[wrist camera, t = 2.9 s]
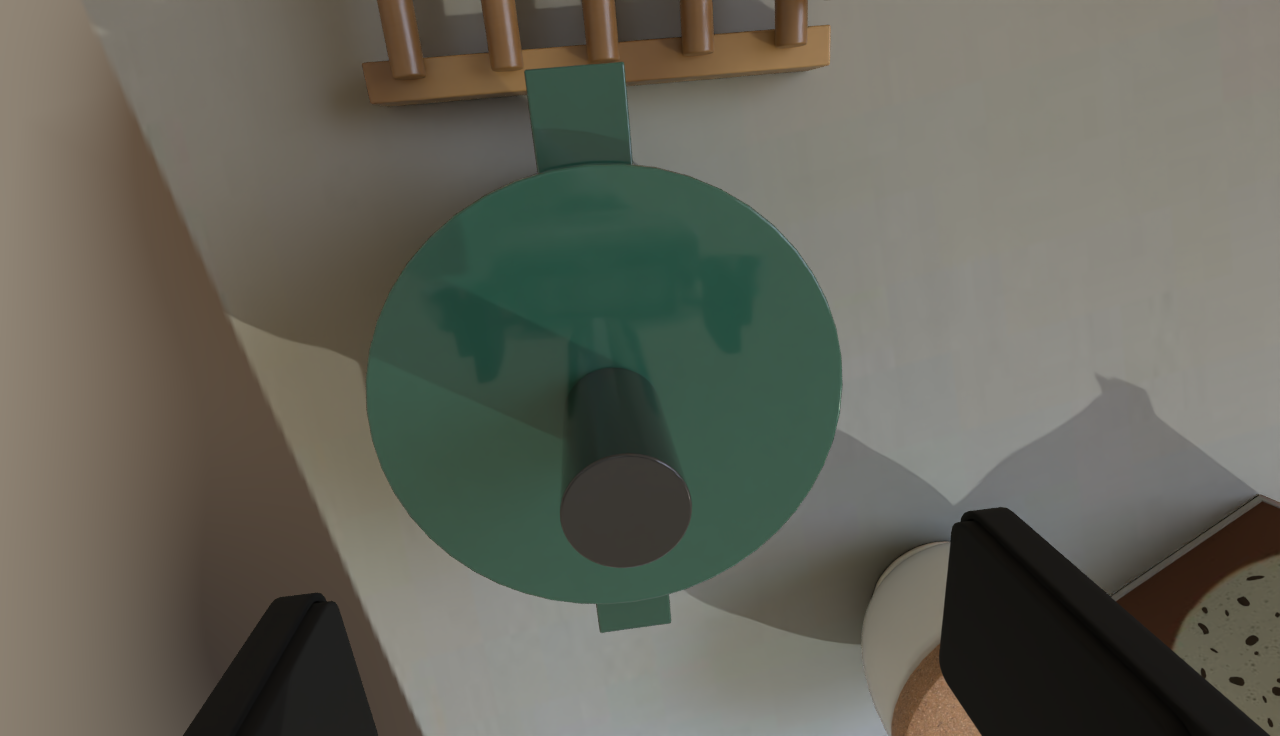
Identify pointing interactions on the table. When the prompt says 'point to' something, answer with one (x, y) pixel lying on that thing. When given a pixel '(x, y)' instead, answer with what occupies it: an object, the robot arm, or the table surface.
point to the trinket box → (911, 648)
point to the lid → (604, 383)
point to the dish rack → (587, 52)
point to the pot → (583, 134)
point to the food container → (1223, 608)
